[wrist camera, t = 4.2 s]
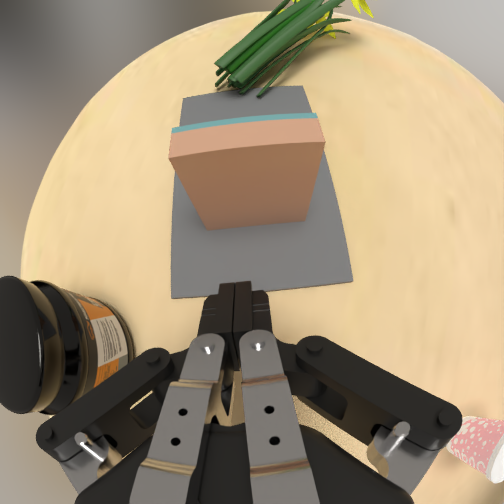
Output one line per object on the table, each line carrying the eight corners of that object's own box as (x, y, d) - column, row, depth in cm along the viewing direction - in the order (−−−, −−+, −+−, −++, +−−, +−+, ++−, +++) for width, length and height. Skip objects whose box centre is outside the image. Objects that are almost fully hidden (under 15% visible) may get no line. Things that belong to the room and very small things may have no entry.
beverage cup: (440, 425, 18) (535, 457, 4) (480, 399, 18) (572, 408, 4) (440, 468, 16) (518, 511, 2) (479, 442, 16) (559, 464, 2)
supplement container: (155, 331, 23) (69, 318, 11) (117, 421, 20) (32, 452, 9) (80, 282, 25) (-3, 244, 13) (49, 363, 22) (-34, 357, 11)
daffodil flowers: (183, 78, 35) (305, -15, 33) (257, 131, 39) (360, 27, 37) (179, 18, 19) (339, -61, 17) (295, 96, 23) (408, -9, 21)
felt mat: (351, 281, 23) (353, 280, 23) (172, 298, 24) (171, 298, 23) (302, 87, 31) (302, 85, 31) (183, 100, 32) (183, 98, 31)
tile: (305, 221, 25) (325, 141, 14) (207, 230, 25) (168, 158, 15) (300, 197, 25) (315, 112, 15) (206, 206, 26) (172, 128, 15)
